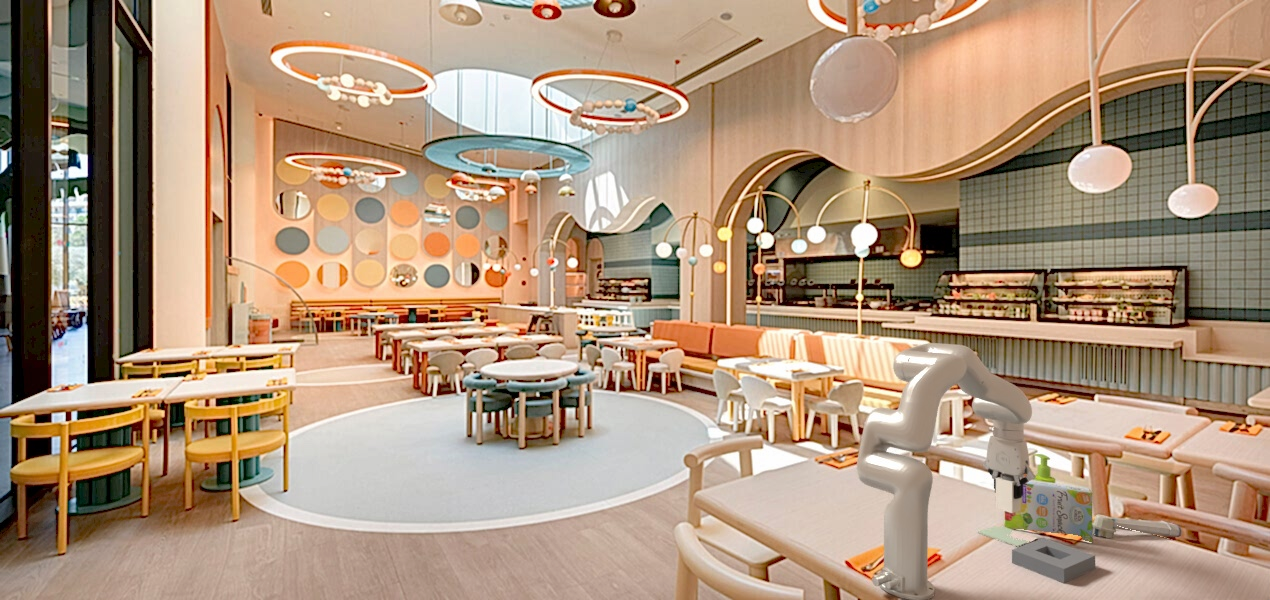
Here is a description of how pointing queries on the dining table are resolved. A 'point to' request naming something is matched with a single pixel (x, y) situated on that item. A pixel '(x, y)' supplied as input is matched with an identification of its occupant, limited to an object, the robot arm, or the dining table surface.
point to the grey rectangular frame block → (1053, 560)
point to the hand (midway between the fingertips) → (1008, 494)
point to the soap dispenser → (1044, 470)
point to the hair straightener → (1133, 526)
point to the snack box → (1053, 509)
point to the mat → (1002, 535)
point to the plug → (1006, 494)
